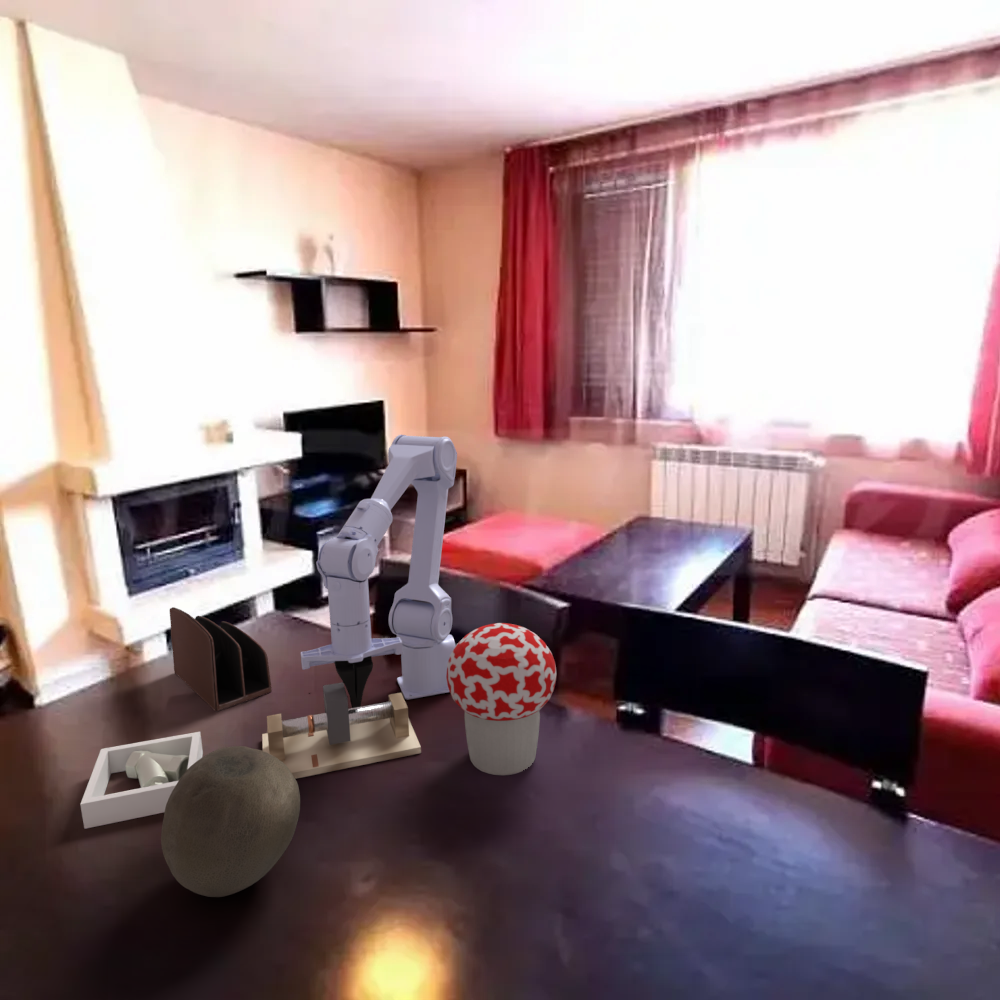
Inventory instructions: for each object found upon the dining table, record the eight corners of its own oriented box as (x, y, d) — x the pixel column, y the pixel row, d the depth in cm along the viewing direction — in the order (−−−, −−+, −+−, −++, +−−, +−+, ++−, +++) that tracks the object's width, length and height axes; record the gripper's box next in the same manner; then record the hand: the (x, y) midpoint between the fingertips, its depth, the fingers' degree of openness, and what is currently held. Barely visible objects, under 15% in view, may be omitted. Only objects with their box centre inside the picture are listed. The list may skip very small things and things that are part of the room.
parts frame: (202, 752, 104) (200, 731, 103) (196, 805, 92) (193, 781, 91) (104, 770, 100) (101, 749, 99) (84, 828, 88) (80, 804, 87)
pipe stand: (404, 713, 114) (403, 681, 113) (421, 752, 103) (419, 717, 102) (262, 739, 107) (259, 705, 106) (264, 785, 96) (260, 747, 95)
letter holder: (215, 713, 115) (206, 633, 112) (174, 674, 130) (164, 602, 127) (273, 692, 122) (265, 617, 119) (227, 657, 136) (219, 589, 133)
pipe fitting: (163, 806, 93) (194, 773, 99) (158, 782, 92) (190, 750, 98) (111, 800, 94) (144, 767, 101) (105, 775, 93) (139, 744, 99)
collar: (346, 723, 107) (343, 682, 106) (350, 740, 103) (347, 698, 101) (326, 727, 106) (322, 685, 105) (329, 745, 102) (326, 701, 100)
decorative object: (497, 804, 91) (494, 663, 87) (427, 754, 103) (422, 626, 98) (578, 758, 101) (580, 628, 97) (506, 716, 113) (505, 599, 108)
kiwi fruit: (225, 949, 70) (210, 817, 67) (143, 893, 77) (125, 772, 74) (329, 861, 81) (320, 746, 78) (249, 820, 89) (237, 713, 86)
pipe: (403, 710, 109) (402, 695, 108) (406, 718, 106) (406, 703, 106) (268, 735, 102) (267, 719, 102) (268, 744, 100) (267, 728, 99)
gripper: (300, 636, 95) (307, 726, 98) (405, 621, 100) (409, 708, 103) (297, 618, 102) (304, 703, 105) (395, 605, 107) (399, 686, 110)
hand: (355, 704), depth 104 cm, fingers closed
